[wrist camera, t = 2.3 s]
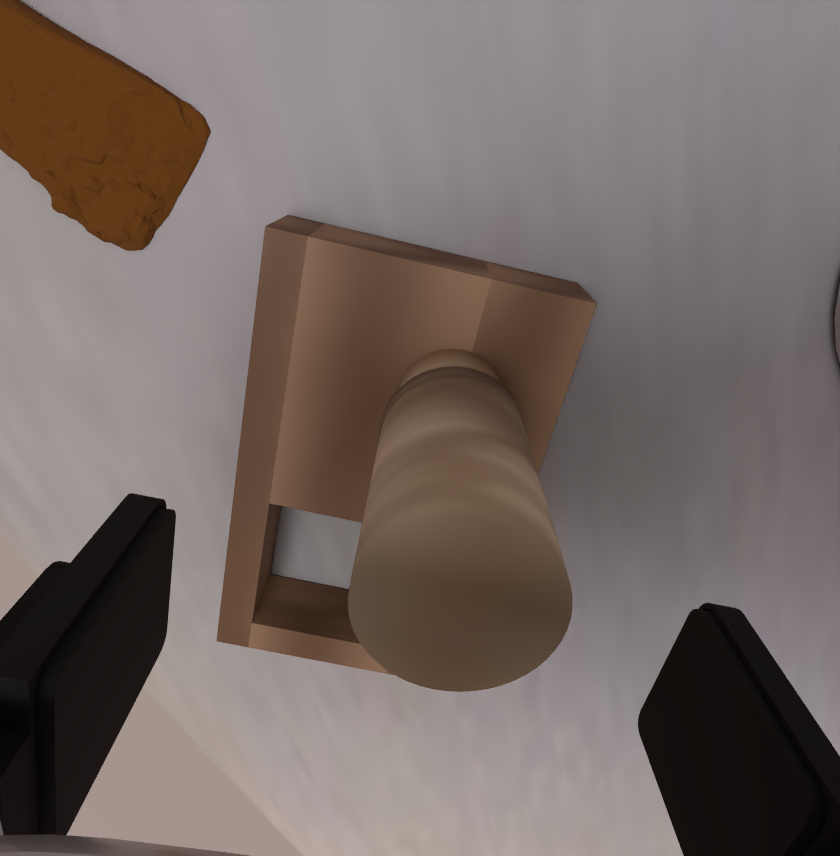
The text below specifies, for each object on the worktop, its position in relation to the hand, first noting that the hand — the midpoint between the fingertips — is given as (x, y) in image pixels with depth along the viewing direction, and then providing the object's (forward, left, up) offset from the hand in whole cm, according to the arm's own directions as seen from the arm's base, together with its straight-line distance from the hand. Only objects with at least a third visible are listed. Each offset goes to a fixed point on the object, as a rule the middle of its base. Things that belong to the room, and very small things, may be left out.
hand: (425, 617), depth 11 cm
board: (+1, +4, -13) cm, 14 cm away
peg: (-1, 0, -10) cm, 10 cm away
